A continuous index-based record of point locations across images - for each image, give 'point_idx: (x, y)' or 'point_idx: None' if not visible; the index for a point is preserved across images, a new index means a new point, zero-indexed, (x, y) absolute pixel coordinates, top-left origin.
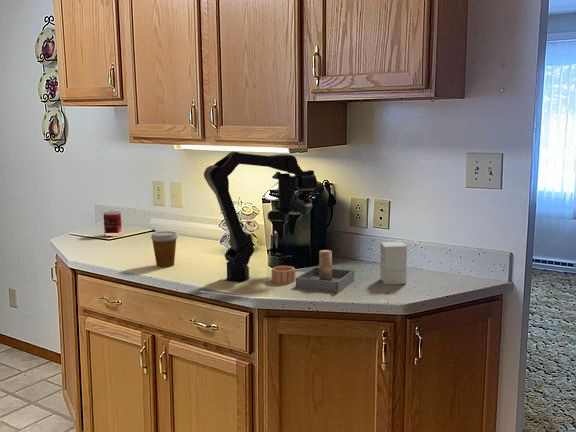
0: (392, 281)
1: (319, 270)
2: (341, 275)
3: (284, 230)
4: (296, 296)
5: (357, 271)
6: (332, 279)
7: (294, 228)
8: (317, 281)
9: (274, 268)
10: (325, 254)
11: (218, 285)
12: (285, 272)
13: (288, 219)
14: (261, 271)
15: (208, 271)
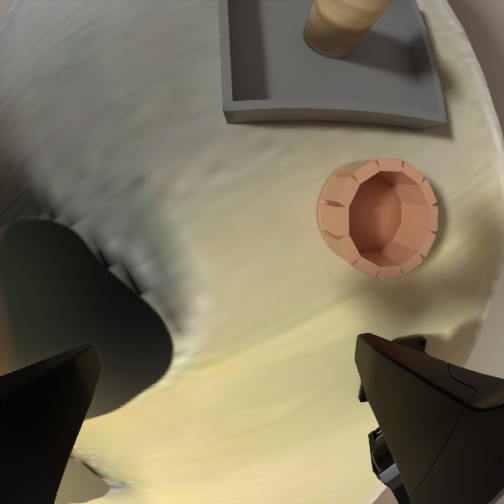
0: None
1: (362, 35)
2: (228, 6)
3: (412, 370)
4: (475, 107)
5: (85, 37)
6: (282, 24)
7: (59, 371)
8: (427, 41)
9: (395, 265)
10: None
11: None
12: (428, 185)
13: (44, 487)
14: (244, 371)
15: (311, 469)
